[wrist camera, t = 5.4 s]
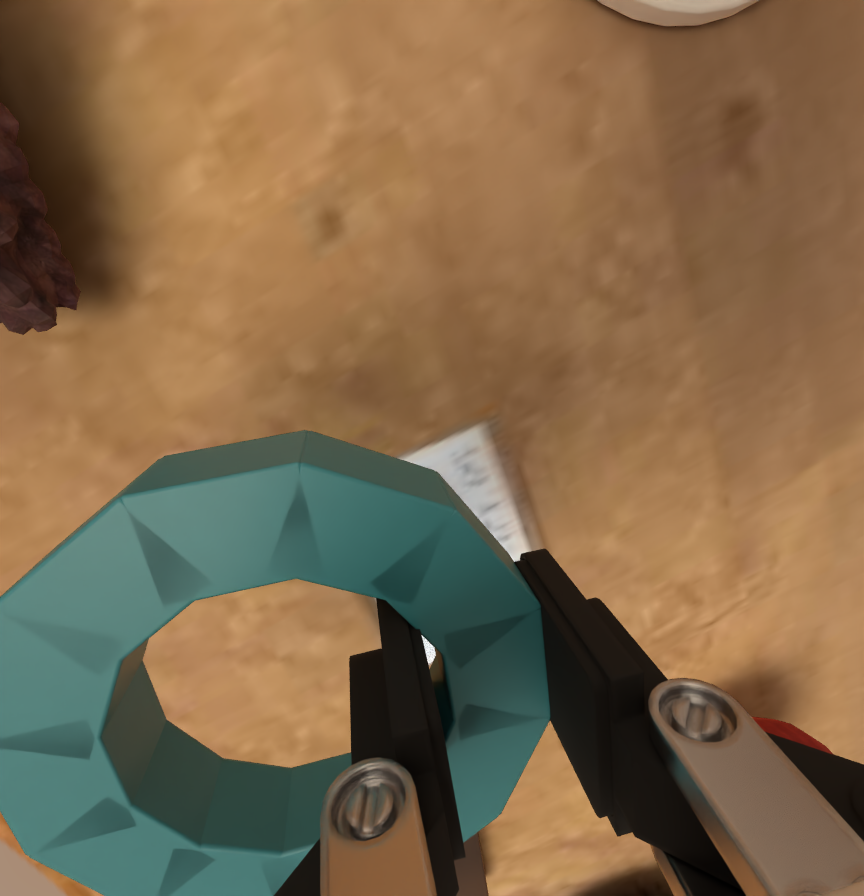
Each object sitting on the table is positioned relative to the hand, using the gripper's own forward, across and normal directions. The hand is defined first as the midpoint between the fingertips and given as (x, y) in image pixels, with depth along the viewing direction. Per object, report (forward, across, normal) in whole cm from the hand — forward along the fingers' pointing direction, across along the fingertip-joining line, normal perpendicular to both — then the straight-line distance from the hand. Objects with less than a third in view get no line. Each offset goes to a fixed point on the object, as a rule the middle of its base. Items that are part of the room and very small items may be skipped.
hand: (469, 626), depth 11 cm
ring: (0, +4, 0) cm, 4 cm away
